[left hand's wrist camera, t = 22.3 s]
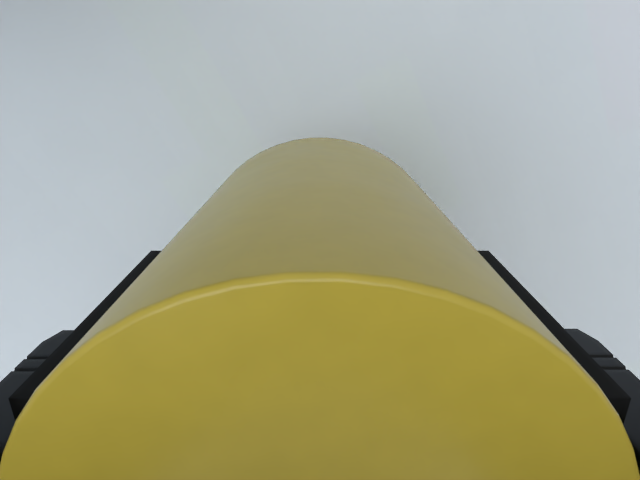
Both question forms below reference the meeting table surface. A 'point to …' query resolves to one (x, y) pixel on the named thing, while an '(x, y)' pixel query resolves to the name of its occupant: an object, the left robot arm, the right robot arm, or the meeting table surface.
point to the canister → (319, 349)
